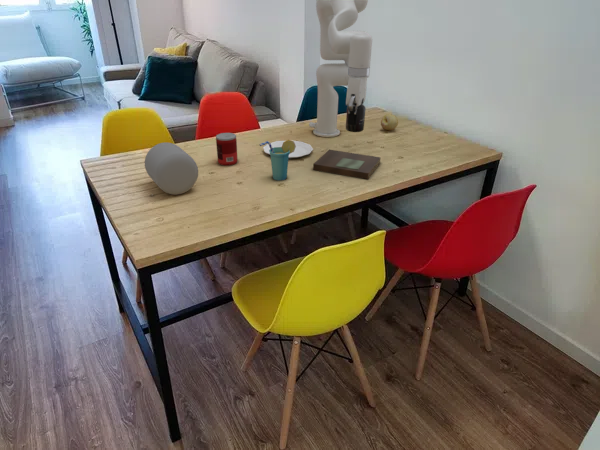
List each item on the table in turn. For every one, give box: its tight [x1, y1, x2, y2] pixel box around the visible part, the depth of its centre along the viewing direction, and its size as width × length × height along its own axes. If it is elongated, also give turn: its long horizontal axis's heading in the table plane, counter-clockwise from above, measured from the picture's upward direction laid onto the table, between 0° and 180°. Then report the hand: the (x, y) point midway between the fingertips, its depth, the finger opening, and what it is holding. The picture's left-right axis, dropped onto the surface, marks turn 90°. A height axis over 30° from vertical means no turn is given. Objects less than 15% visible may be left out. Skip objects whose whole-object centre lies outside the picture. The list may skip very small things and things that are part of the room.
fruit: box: [380, 113, 399, 132], centre depth 217 cm, size 8×8×8 cm
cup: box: [259, 139, 296, 181], centre depth 163 cm, size 14×8×15 cm, turn 122°
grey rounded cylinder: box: [144, 142, 199, 196], centre depth 157 cm, size 19×15×25 cm
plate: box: [262, 139, 314, 159], centre depth 191 cm, size 21×21×2 cm
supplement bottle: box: [345, 98, 367, 133], centre depth 165 cm, size 7×7×12 cm
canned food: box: [215, 132, 238, 167], centre depth 177 cm, size 8×8×11 cm
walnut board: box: [312, 149, 381, 180], centre depth 177 cm, size 22×18×3 cm
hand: (355, 121), depth 167 cm, fingers closed on supplement bottle, 6 cm apart
